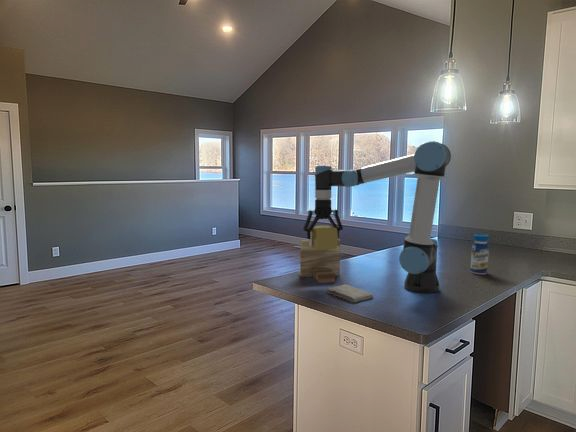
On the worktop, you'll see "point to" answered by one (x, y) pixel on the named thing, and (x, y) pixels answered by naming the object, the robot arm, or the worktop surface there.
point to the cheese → (324, 237)
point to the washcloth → (349, 293)
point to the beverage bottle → (479, 254)
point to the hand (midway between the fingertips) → (323, 245)
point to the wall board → (319, 262)
